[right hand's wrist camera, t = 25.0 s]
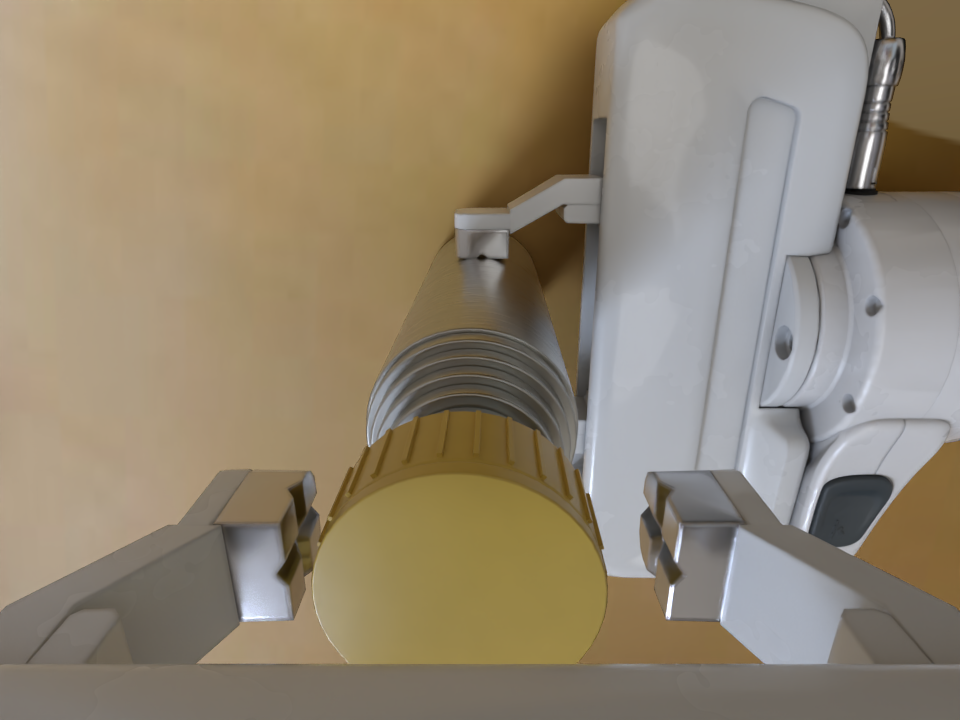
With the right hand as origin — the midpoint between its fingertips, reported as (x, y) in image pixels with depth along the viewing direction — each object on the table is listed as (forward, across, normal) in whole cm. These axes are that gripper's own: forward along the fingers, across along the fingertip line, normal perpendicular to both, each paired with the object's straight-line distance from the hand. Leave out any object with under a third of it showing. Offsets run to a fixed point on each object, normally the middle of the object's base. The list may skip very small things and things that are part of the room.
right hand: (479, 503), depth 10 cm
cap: (-2, 0, 0) cm, 2 cm away
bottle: (+17, 0, 0) cm, 17 cm away
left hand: (+11, -1, 0) cm, 11 cm away
